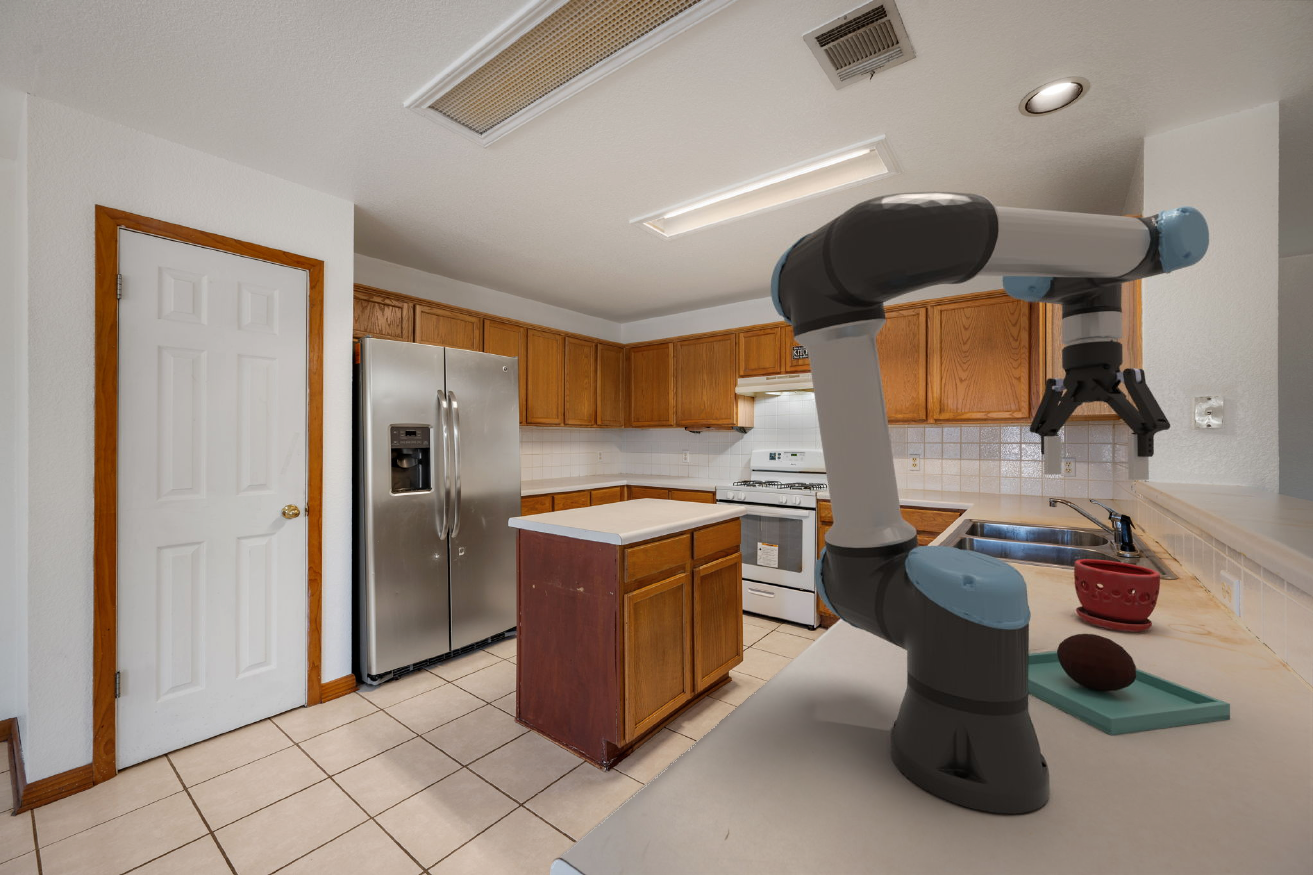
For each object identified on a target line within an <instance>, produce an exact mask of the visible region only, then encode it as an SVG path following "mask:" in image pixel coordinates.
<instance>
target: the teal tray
mask: <svg viewBox="0 0 1313 875" xmlns="http://www.w3.org/2000/svg"><path fill="white" fill-rule="evenodd" d="M1028 695H1031V696H1034V697H1036V698H1037V699H1039V700H1041V701H1043V702H1045V703H1046V704H1047V703H1048V704H1049V705H1051V706H1053V707H1055V708H1057V709H1059V710H1061V711H1063V712H1065V713H1067V714H1069V715H1070V716H1073V717H1074V718H1077V719H1079V720H1081V721H1083V722H1085V723H1087V724H1088V725H1091V726H1092V727H1094V728H1096V729H1098V730H1101V731H1102V732H1105V733H1106V734H1109V735H1110V736H1117V735H1123V734H1131V733H1137V732H1145V731H1153V730H1161V729H1167V728H1174V727H1175V728H1176V727H1183V726H1189V725H1197V724H1204V723H1211V722H1212V723H1213V722H1218V721H1224V720H1226V721H1227V720H1230V719H1231V703H1229V702H1227V701H1225V700H1224V701H1223V700H1220V699H1218V698H1216V697H1213V696H1210V695H1208V694H1205V693H1202V692H1201V691H1197V690H1194V689H1192V688H1189V687H1187V686H1184V685H1181V684H1178V683H1176V682H1173V681H1171V680H1168V679H1165V678H1162V677H1160V676H1158V675H1156V674H1152V673H1150V672H1146V671H1143V670H1141V669H1138V668H1136V678H1135V681H1134V682H1133V683H1132V684H1131V685H1130V686H1128V687H1126V688H1123V689H1120V690H1117V691H1098V690H1093V689H1089V688H1086V687H1084V686H1082V685H1080V684H1078V683H1076V682H1075V681H1074V680H1072V679H1071V678H1070V677H1069V676H1068V675H1067V674H1066V672H1065V671H1064V670H1063V668H1062V667H1061V664H1060V662H1059V660H1058V656H1057V650H1054V651H1042V652H1041V651H1040V652H1032V653H1031V652H1029V663H1028Z"/></svg>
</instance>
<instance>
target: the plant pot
mask: <svg viewBox="0 0 1313 875" xmlns="http://www.w3.org/2000/svg"><path fill="white" fill-rule="evenodd" d="M1073 569H1074V570H1073V577H1074V589H1075V593H1076V596H1077V599H1078V601H1079V604H1080V605H1081V606H1078V607H1076V609H1075V612H1076V614H1077V615H1078V616H1079V618H1081V620H1082V621H1085V622H1087V623H1089V624H1091V625H1093V626H1097V627H1100V628H1103V629H1108V630H1113V631H1118V632H1119V631H1120V632H1128V633H1129V632H1130V633H1137V632H1144V631H1147V630H1149V629H1150V628H1151V627H1152V625H1153V622H1152V620H1150V619H1149V617H1150V616H1151V615H1152V613H1153V612H1154V610H1155V608H1156V605H1157V602H1158V597H1159V594H1160V587H1161V586H1160V585H1161V574H1160V572H1158V571H1156V570H1154V569H1152V568H1149V567H1145V566H1140V565H1135V564H1131V563H1126V562H1121V561H1120V562H1119V561H1112V560H1104V559H1103V560H1102V559H1092V558H1091V559H1089V558H1084V559H1077V560H1076V561H1075V562H1074V568H1073ZM1099 585H1101V586H1102V587H1100V586H1099ZM1133 592H1134V593H1133Z"/></svg>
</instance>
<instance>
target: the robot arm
mask: <svg viewBox="0 0 1313 875" xmlns="http://www.w3.org/2000/svg"><path fill="white" fill-rule="evenodd" d="M1209 245H1210V232H1209V226H1208V222H1207V220H1206V218H1205V216H1204V215H1203V214H1202V213H1201V212H1200V210H1198V209H1197V208H1195V207H1192V206H1180V207H1176V208H1173V209H1169V210H1162V211H1159V212H1158V213H1156V214H1153V215H1150V216H1147V217H1137V216H1136V217H1135V216H1134V217H1133V216H1123V215H1121V216H1120V215H1111V214H1110V215H1108V214H1098V213H1085V212H1084V213H1083V212H1072V211H1071V212H1070V211H1062V210H1061V211H1059V210H1047V209H1036V208H1035V209H1034V208H1024V207H1023V208H1022V207H1011V206H998V205H997V206H996V205H995V204H994V202H993V201H992V200H990V199H989V198H988V197H986V196H984V195H982V194H977V193H967V192H966V193H964V192H955V191H954V192H953V191H917V192H901V193H893V194H885V195H881V196H877V197H873V198H870V199H868V200H867V199H866V200H864V201H862V202H859V203H857V204H855V205H854V206H852V207H850V208H849V209H847V210H845V211H844V212H843V213H842V214H840V215H839V216H836V217H835V218H833V219H832V220H830V221H829V222H827V223H825V224H824V225H822V226H821V227H819V228H818V229H816V230H814V231H812V232H810V233H807V234H805V235H803V236H802V237H800V238H798V240H796V241H795V242H794V243H793V244H792V245H791V247H788V249H787V250H786V251H784V253H783V254H782V255H781V256H780V257H779V259H778V260H777V262H776V263H775V266H774V268H773V270H772V274H771V280H770V295H771V301H772V304H773V306H774V309H775V310H776V312H777V314H778V316H781V317H783V320H784V322H785V323H787V324H788V325H791V327H792V333H793V339H794V341H795V342H796V343H797V344H799V345H800V346H802V347H803V348H804V349H806V351H807V355H808V359H809V367H810V368H809V369H810V374H811V380H812V381H811V382H812V387H813V394H814V400H815V407H816V408H815V409H816V414H817V422H818V427H819V434H820V441H821V448H822V453H823V460H824V468H825V474H826V479H827V486H828V494H829V502H830V506H831V513H832V514H831V515H832V519H833V520H832V521H833V523H832V525H831V527H830V528H829V529H828V530H827V531H826V532H825V533H824V543H825V546H824V547H823V548H822V549H821V551H820V553H819V555H820V557H819V559H816V562H815V567H814V582H815V586H816V590H817V593H818V595H819V597H820V599H821V601H822V603H823V604H824V605H825V607H826V608H827V609H828V610H829V611H830V612H831V613H832V614H833V615H835V616H836V617H839V618H840V619H841V620H842V621H843V622H845V623H848V625H850V626H851V627H854V628H856V629H860V630H862V631H866V632H868V633H869V634H872V635H874V636H876V637H878V638H879V639H882V640H884V641H887V642H889V643H891V644H892V645H895V646H896V647H898V648H901V649H903V650H905V651H906V664H907V665H906V669H907V671H906V673H907V677H906V681H907V682H906V689H905V692H904V695H903V698H902V701H901V704H900V707H899V710H898V714H897V718H896V720H895V721H894V723H893V725H892V727H891V730H890V757H891V759H892V761H893V763H894V764H895V766H896V768H898V770H899V771H900V772H901V773H902V774H903V775H904V776H905V777H906V778H908V779H909V780H910V781H911V782H913V783H914V784H916V785H917V786H919V787H920V788H921V789H923V790H925V791H927V792H929V793H930V794H933V795H934V796H936V797H939V798H941V799H943V800H945V801H948V802H950V803H954V804H956V805H959V806H962V807H967V808H970V809H973V810H979V811H983V812H989V813H995V814H1022V813H1024V814H1025V813H1028V812H1032V811H1035V810H1039V809H1040V808H1041V807H1043V806H1044V805H1045V804H1046V803H1047V802H1048V800H1049V798H1050V772H1049V770H1050V769H1049V767H1048V763H1047V760H1046V759H1045V756H1043V754H1042V752H1041V746H1040V742H1039V739H1038V737H1037V733H1036V730H1035V728H1034V724H1033V721H1032V717H1031V716H1030V710H1029V693H1028V663H1029V653H1030V652H1029V647H1030V646H1029V645H1030V644H1029V643H1030V642H1029V641H1030V640H1029V639H1030V638H1029V637H1030V636H1029V635H1030V621H1031V616H1032V615H1031V614H1032V613H1031V609H1030V606H1029V602H1028V601H1029V599H1028V588H1027V583H1026V581H1025V579H1024V576H1023V574H1022V573H1021V572H1020V571H1019V570H1018V569H1017V568H1015V567H1014V566H1012V565H1011V564H1010V563H1007V562H1006V561H1004V560H1002V559H999V558H996V557H994V556H992V555H988V554H985V553H982V552H977V551H976V550H975V551H973V550H969V549H959V548H957V547H952V546H946V545H945V546H944V545H923V546H922V545H921V546H919V541H918V534H917V533H918V532H917V529H916V528H915V527H914V526H913V525H912V524H910V523H909V522H908V521H906V520H905V519H904V518H903V517H902V512H901V506H900V504H901V503H900V499H899V492H898V485H897V476H896V471H895V464H894V463H895V462H894V457H893V450H892V443H891V436H890V428H889V422H888V415H887V408H886V402H885V394H884V389H883V388H884V386H883V382H882V380H883V379H882V374H881V367H880V361H879V355H878V353H879V352H878V346H877V339H876V338H877V336H878V334H879V333H880V331H881V330H882V328H883V327H884V326H885V325H886V323H887V320H886V317H887V316H886V312H885V305H884V303H885V302H887V301H890V300H893V299H895V298H897V297H901V296H904V295H906V294H910V293H912V292H915V291H919V290H923V289H926V288H929V287H934V286H940V285H959V284H964V283H967V282H969V281H971V280H973V279H975V278H977V276H980V277H981V276H988V277H989V276H991V277H992V276H995V277H1002V287H1003V289H1004V291H1005V293H1006V294H1007V295H1008V296H1010V297H1011V298H1014V299H1017V300H1022V301H1025V302H1026V303H1042V304H1054V305H1061V344H1062V345H1065V346H1064V347H1063V349H1062V350H1061V362H1062V363H1061V368H1062V370H1064V372H1065V375H1064V378H1056V377H1055V378H1054V377H1053V378H1051V377H1050V378H1047V380H1046V381H1045V390H1044V394H1043V395H1042V398H1041V400H1040V403H1039V406H1038V407H1037V410H1036V412H1035V413H1034V417H1033V420H1032V422H1031V424H1030V426H1029V432H1030V433H1035V434H1037V435H1039V436H1040V452H1041V455H1042V456H1043V457H1044V458H1043V461H1044V462H1043V463H1044V464H1043V466H1044V467H1043V468H1044V469H1043V471H1044V472H1043V473H1044V475H1047V476H1048V475H1062V437H1061V435H1060V434H1058V433H1059V432H1060V430H1061V429H1062V428H1063V426H1064V425H1065V424H1066V422H1067V421H1068V420H1069V418H1070V417H1071V416H1072V415H1073V413H1074V412H1075V411H1076V409H1077V408H1078V407H1080V406H1082V405H1083V404H1085V403H1087V404H1088V403H1093V402H1104V403H1105V404H1107V405H1108V406H1109V407H1110V408H1111V409H1112V411H1114V412H1115V414H1117V416H1118V417H1119V418H1120V419H1121V420H1122V421H1123V422H1124V423H1125V424H1126V425H1127V426H1128V427H1129V428H1130V429H1131V431H1132V432H1131V434H1132V435H1131V434H1130V435H1129V434H1128V437H1127V440H1128V442H1127V443H1128V444H1127V445H1128V446H1127V448H1128V450H1127V451H1128V453H1127V454H1128V480H1131V481H1132V480H1134V481H1136V480H1137V481H1138V480H1139V481H1140V480H1142V481H1143V480H1144V481H1145V480H1149V479H1150V477H1149V476H1150V471H1149V466H1150V464H1149V460H1150V459H1149V457H1150V458H1152V457H1153V456H1154V454H1155V447H1154V446H1155V445H1154V444H1155V442H1154V441H1155V438H1154V437H1155V435H1156V434H1157V433H1158V432H1159V433H1160V432H1162V431H1167V430H1169V429H1170V428H1171V423H1170V421H1169V419H1168V418H1167V416H1166V415H1165V413H1164V411H1163V409H1162V408H1161V406H1160V405H1159V403H1158V401H1157V400H1156V398H1155V396H1154V394H1153V393H1152V390H1151V389H1150V387H1149V386H1148V384H1147V382H1146V372H1145V370H1144V369H1143V368H1130V367H1128V368H1125V369H1123V371H1121V366H1122V364H1123V361H1124V360H1123V344H1122V343H1121V342H1120V341H1119V340H1121V339H1122V338H1123V308H1122V302H1123V301H1122V300H1123V298H1122V293H1123V292H1122V291H1123V290H1122V289H1123V288H1122V287H1123V284H1125V283H1128V282H1129V283H1130V282H1134V281H1138V280H1143V279H1146V278H1150V277H1151V278H1152V277H1154V276H1159V275H1163V274H1166V275H1167V274H1171V273H1172V272H1174V271H1178V270H1181V269H1184V268H1188V267H1192V266H1195V265H1196V264H1198V263H1199V262H1201V260H1202V259H1203V258H1204V257H1205V256H1206V254H1207V251H1208V248H1209ZM1121 383H1122V384H1124V386H1125V389H1126V392H1127V393H1128V395H1129V397H1130V398H1131V400H1132V402H1133V403H1134V404H1135V406H1134V405H1133V403H1131V402H1130V401H1129V399H1128V398H1127V395H1126V393H1124V392H1123V391H1122V390H1121V389H1120V388H1119V386H1120V384H1121ZM1065 390H1066V391H1065Z"/></svg>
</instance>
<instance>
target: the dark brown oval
mask: <svg viewBox="0 0 1313 875" xmlns="http://www.w3.org/2000/svg"><path fill="white" fill-rule="evenodd" d="M1056 651H1057V656H1058V660H1059V662H1060V664H1061V667H1062V668H1063V670H1064V671H1065V672H1066V674H1067V675H1068V676H1069V677H1070V678H1071V679H1072V680H1074V681H1075V682H1076V683H1078V684H1080V685H1082V686H1084V687H1086V688H1089V689H1093V690H1098V691H1117V690H1120V689H1123V688H1126V687H1128V686H1130V685H1131V684H1132V683H1133V682H1134V681H1135V678H1136V669H1137V667H1136V665H1135V662H1134V659H1133V657H1132V656H1131V655H1130V654H1129V652H1128V651H1127V650H1126V649H1125V648H1124V647H1123V646H1121V645H1120V644H1118V643H1116V642H1115V641H1114V640H1112V639H1110V638H1108V637H1104V636H1101V635H1098V634H1094V633H1077V634H1074V635H1070V636H1068V637H1067V638H1064V639H1063V641H1061V642H1060V643H1059V644H1058V646H1057V649H1056Z"/></svg>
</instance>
